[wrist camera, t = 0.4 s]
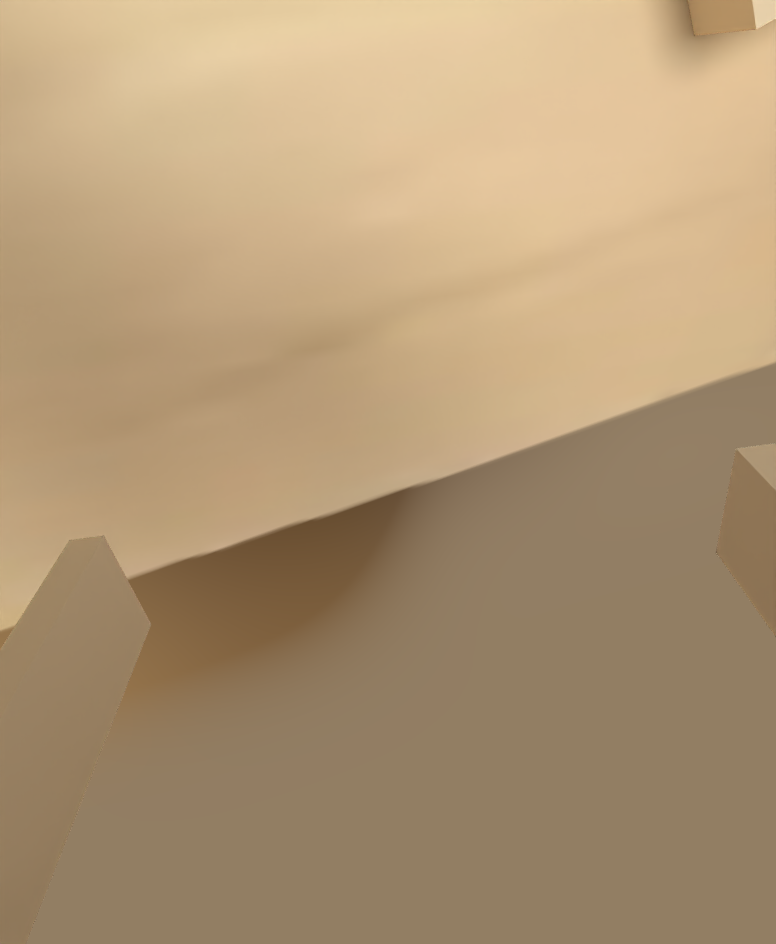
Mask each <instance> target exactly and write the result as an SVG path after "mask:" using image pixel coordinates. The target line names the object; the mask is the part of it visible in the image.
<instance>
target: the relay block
mask: <svg viewBox="0 0 776 944" xmlns="http://www.w3.org/2000/svg"><path fill="white" fill-rule="evenodd" d="M687 1H688V6H689V11H690V16H691V22H692V27H693V32H694V36H695V35H705V34H715V33H725V32H735V31H745V30H755V29H758V28H760V27H762V26H764V25H765V24H767V23H769V22H771V21H773V20H774V19H776V0H687Z"/></svg>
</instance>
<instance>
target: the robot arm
mask: <svg viewBox="0 0 776 944" xmlns="http://www.w3.org/2000/svg"><path fill="white" fill-rule="evenodd" d="M716 553H717V555H718V556H719V557H720V559H721V560H722V562H723V563H724V565H725V566H726V567H727V569H728V570H729V572H730V573H731V574H732V576H733V577H734V579H735V580H736V581H737V583H738V584H739V586H740V587H741V588H742V590H743V591H744V593H745V594H746V595H747V597H748V598H749V600H750V601H751V603H752V604H753V606H754V607H755V608H756V610H757V611H758V613H759V614H760V615H761V617H762V618H763V619H764V621H765V622H766V624H767V625H768V627H769V628H770V629H771V631H772V632H773V634H774V635H775V637H776V443H773V444H766V445H759V446H752V447H744V448H737V449H736V451H735V456H734V461H733V466H732V471H731V477H730V482H729V487H728V492H727V497H726V503H725V508H724V513H723V518H722V523H721V528H720V534H719V538H718V544H717V549H716ZM150 625H151V623H150V622H149V619H148V618H147V616H146V614H145V612H144V610H143V608H142V606H141V605H140V603H139V601H138V599H137V597H136V595H135V593H134V591H133V589H132V588H131V586H130V584H129V582H128V580H127V578H126V576H125V574H124V573H123V571H122V569H121V567H120V565H119V563H118V561H117V559H116V558H115V556H114V554H113V552H112V550H111V548H110V546H109V544H108V543H107V541H106V539H105V537H104V536H98V537H90V538H83V539H76V540H69V542H68V543H67V545H66V547H65V548H64V550H63V551H62V553H61V554H60V556H59V558H58V559H57V561H56V562H55V564H54V566H53V567H52V569H51V570H50V572H49V573H48V575H47V577H46V578H45V580H44V581H43V583H42V585H41V586H40V588H39V589H38V591H37V592H36V594H35V596H34V597H33V599H32V600H31V602H30V604H29V605H28V607H27V608H26V610H25V611H24V613H23V615H22V616H21V618H20V619H19V621H18V623H17V624H16V626H15V627H14V629H13V630H12V632H11V634H10V635H9V637H8V638H7V640H6V642H5V643H4V645H3V646H2V648H1V649H0V944H26V942H27V939H28V937H29V935H30V932H31V929H32V927H33V924H34V922H35V919H36V917H37V914H38V912H39V909H40V906H41V904H42V901H43V899H44V896H45V893H46V891H47V889H48V886H49V883H50V881H51V878H52V876H53V873H54V870H55V868H56V866H57V863H58V860H59V858H60V855H61V853H62V850H63V847H64V845H65V843H66V840H67V837H68V835H69V832H70V830H71V827H72V824H73V822H74V820H75V817H76V815H77V812H78V809H79V807H80V804H81V802H82V799H83V797H84V794H85V791H86V789H87V786H88V784H89V781H90V779H91V776H92V774H93V771H94V768H95V766H96V763H97V761H98V758H99V755H100V753H101V750H102V748H103V745H104V743H105V740H106V738H107V735H108V733H109V730H110V728H111V725H112V722H113V720H114V717H115V715H116V712H117V710H118V707H119V705H120V702H121V699H122V697H123V694H124V692H125V689H126V687H127V684H128V682H129V679H130V676H131V674H132V671H133V669H134V666H135V664H136V661H137V659H138V656H139V654H140V651H141V648H142V646H143V643H144V640H145V638H146V636H147V633H148V630H149V628H150Z"/></svg>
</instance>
